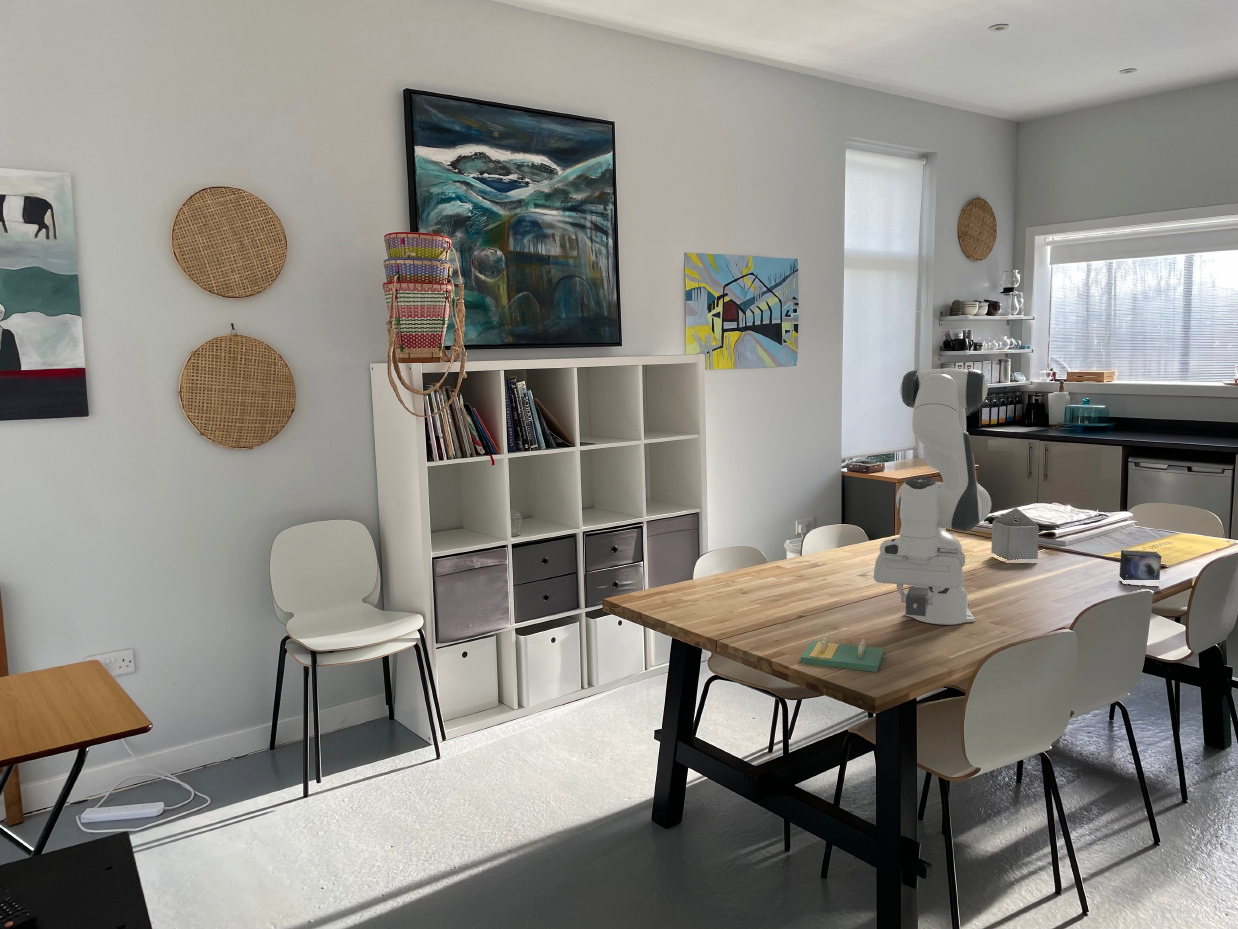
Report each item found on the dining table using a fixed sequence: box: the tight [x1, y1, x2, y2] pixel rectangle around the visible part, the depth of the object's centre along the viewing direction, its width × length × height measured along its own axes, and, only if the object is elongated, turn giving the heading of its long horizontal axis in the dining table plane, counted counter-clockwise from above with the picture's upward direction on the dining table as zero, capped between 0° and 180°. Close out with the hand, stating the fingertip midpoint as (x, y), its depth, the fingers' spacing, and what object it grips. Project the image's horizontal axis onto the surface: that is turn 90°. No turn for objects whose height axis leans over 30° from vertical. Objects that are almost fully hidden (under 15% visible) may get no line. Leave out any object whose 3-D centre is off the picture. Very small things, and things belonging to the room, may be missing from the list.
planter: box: [991, 507, 1040, 560], centre depth 324 cm, size 16×8×19 cm, turn 48°
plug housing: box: [905, 586, 929, 616], centre depth 213 cm, size 13×4×4 cm, turn 157°
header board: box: [800, 635, 885, 673], centre depth 221 cm, size 14×18×4 cm
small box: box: [1119, 549, 1162, 580], centre depth 291 cm, size 11×6×10 cm, turn 73°
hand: (917, 603), depth 215 cm, fingers closed on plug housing, 4 cm apart
